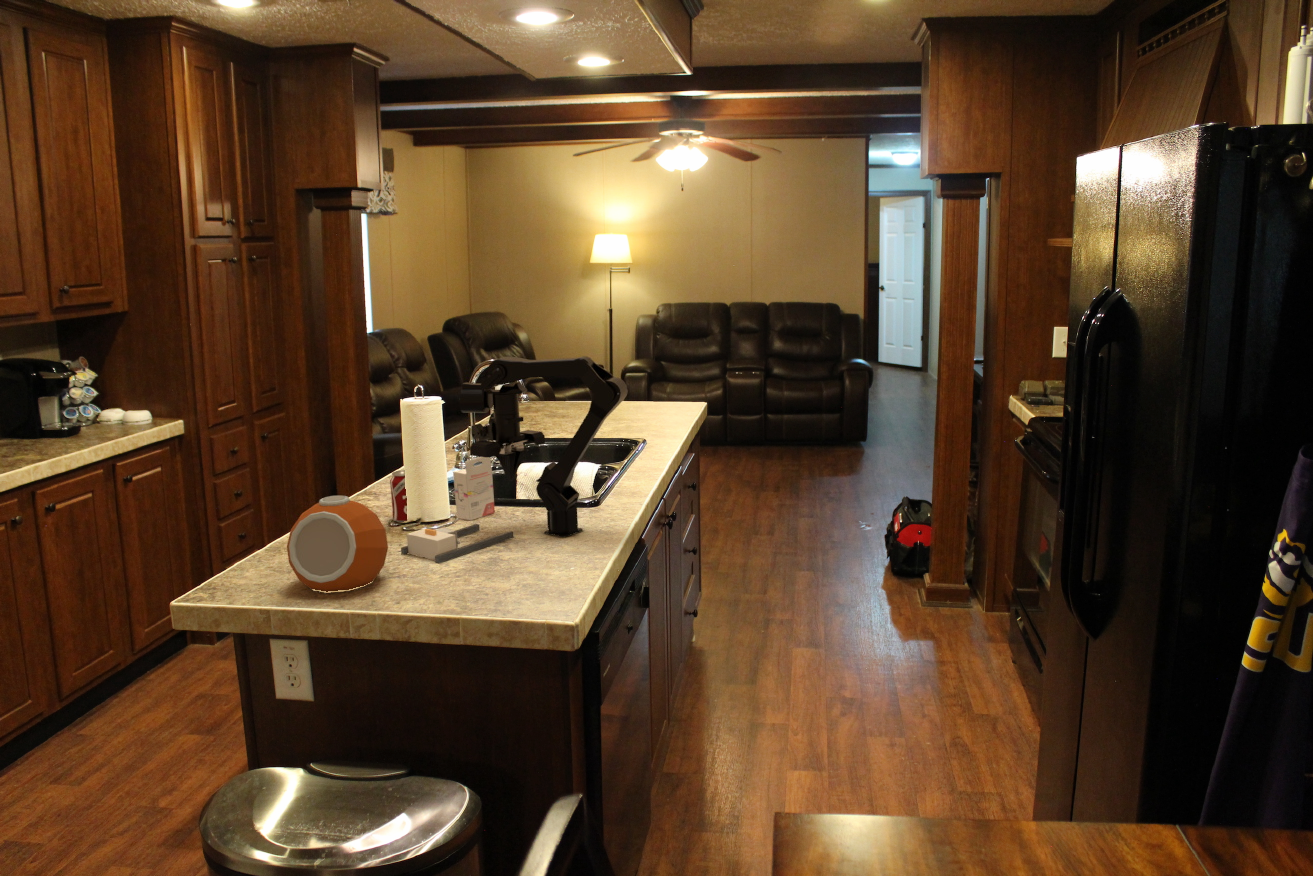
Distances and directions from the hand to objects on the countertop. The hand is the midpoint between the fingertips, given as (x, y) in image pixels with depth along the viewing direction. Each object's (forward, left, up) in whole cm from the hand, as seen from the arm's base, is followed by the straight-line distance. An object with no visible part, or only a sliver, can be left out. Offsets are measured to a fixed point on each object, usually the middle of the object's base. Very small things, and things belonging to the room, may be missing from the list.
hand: (510, 480), depth 235 cm
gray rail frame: (+2, +15, -12) cm, 19 cm away
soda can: (+29, +7, -12) cm, 32 cm away
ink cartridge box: (+18, -5, -12) cm, 22 cm away
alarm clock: (+3, +45, -12) cm, 47 cm away
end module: (+2, +22, -12) cm, 26 cm away
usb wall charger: (+2, +18, -12) cm, 22 cm away
